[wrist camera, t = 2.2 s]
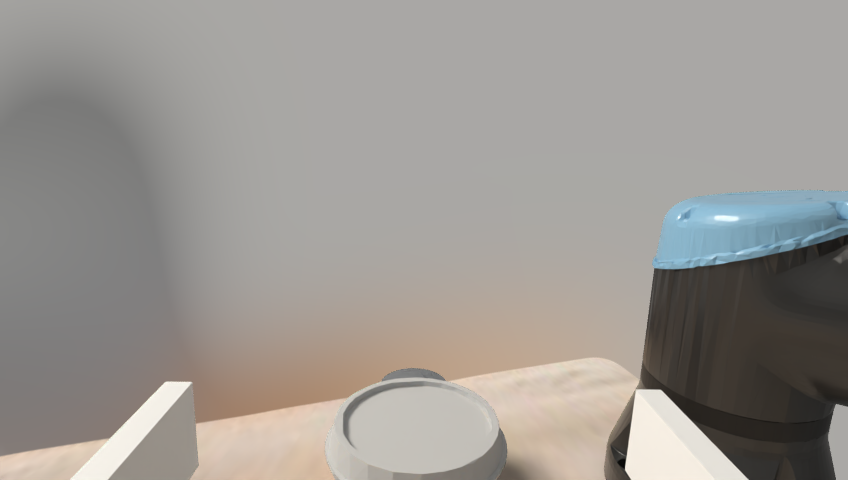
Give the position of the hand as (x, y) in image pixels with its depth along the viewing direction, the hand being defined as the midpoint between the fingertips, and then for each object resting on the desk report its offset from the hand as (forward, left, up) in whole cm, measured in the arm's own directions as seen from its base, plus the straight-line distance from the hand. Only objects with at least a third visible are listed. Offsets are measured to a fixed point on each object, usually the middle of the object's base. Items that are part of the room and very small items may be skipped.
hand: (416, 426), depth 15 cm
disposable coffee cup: (-7, -7, -18) cm, 21 cm away
